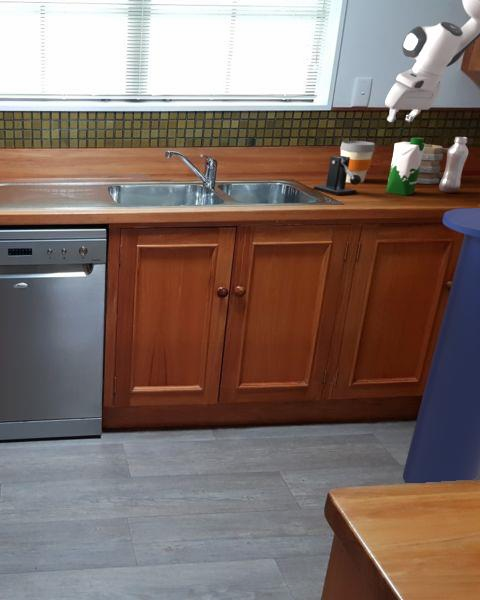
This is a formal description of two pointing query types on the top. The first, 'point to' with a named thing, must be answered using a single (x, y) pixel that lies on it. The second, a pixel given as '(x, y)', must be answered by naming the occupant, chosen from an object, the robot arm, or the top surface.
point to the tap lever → (350, 173)
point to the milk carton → (405, 166)
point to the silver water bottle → (454, 166)
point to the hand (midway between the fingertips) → (399, 121)
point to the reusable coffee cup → (358, 157)
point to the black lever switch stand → (336, 178)
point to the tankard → (431, 164)
